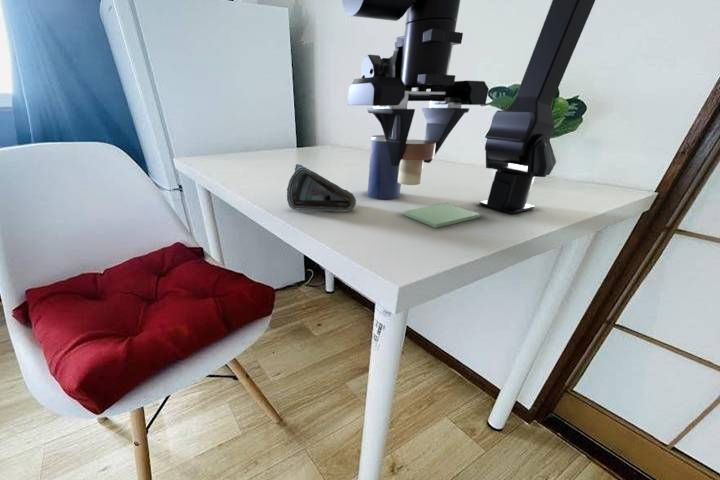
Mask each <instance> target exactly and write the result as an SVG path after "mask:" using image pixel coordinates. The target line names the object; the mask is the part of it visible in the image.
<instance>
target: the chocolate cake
mask: <svg viewBox="0 0 720 480" xmlns="http://www.w3.org/2000/svg"><path fill="white" fill-rule="evenodd" d="M286 201H287V205H288V207H289V208H291V209H292V210H294V211H300V212H301V211H304V212H335V213H336V212H338V213H348V212H351V211H353V210H354V208H355V207H356V203H357V199H356V196H355V194H353V193H352V192H350V191H349V190H347V189H344V188H342V187H340V186H339V185H338V184H336V183H333V182H332V181H330V180H329V179H328V178H325V177H324V176H322V175H320V174H318V173H317V172H315V171H313V170H310V168H307V167H305V166H303V165H302V164H298V163H297V164H296V165H295V167H294V172H293V174H292V175H291V177H290V179H289V181H288V185H287V188H286Z"/></svg>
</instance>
